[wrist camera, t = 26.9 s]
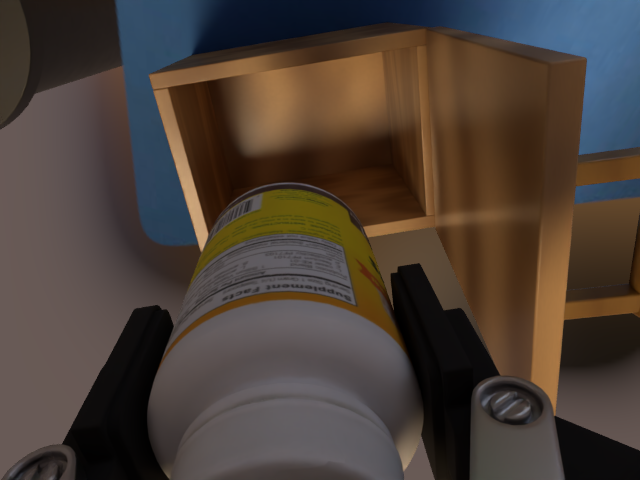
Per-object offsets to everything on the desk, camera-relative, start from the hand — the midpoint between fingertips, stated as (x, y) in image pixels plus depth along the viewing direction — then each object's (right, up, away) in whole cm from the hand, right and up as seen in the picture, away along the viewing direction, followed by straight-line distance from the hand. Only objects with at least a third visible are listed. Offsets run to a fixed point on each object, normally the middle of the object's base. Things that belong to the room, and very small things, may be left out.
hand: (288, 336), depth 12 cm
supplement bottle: (0, +2, +5) cm, 5 cm away
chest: (-1, +12, +25) cm, 28 cm away
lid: (+7, +5, +7) cm, 11 cm away
